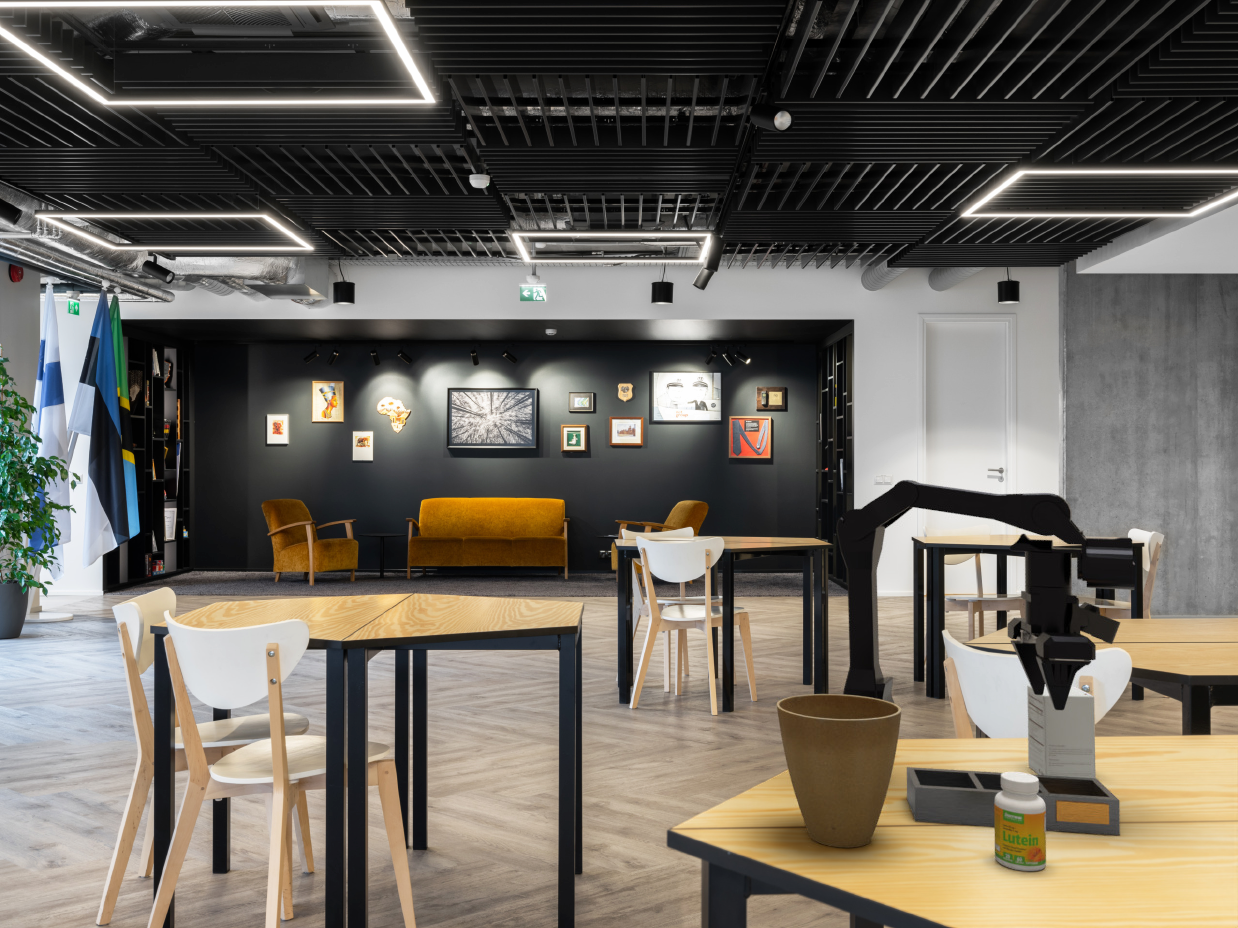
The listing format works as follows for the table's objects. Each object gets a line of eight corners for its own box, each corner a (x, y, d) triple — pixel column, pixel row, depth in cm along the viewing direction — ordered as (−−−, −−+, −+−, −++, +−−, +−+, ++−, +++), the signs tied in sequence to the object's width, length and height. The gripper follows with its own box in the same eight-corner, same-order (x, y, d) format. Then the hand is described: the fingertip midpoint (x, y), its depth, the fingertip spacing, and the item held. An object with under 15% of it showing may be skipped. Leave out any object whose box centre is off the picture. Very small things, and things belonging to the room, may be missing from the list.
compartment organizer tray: (915, 821, 118) (915, 787, 118) (906, 798, 127) (906, 766, 127) (1120, 836, 113) (1120, 800, 113) (1096, 810, 122) (1096, 778, 122)
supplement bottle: (997, 868, 103) (996, 781, 103) (992, 851, 108) (991, 767, 108) (1049, 874, 101) (1048, 785, 102) (1042, 856, 107) (1041, 771, 107)
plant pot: (914, 829, 115) (914, 700, 116) (883, 870, 102) (883, 725, 103) (800, 807, 123) (800, 687, 123) (758, 843, 110) (758, 709, 110)
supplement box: (1076, 767, 142) (1075, 685, 142) (1096, 782, 134) (1095, 695, 135) (1026, 766, 142) (1026, 684, 143) (1044, 781, 135) (1043, 694, 135)
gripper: (1139, 594, 114) (1140, 721, 113) (1088, 580, 132) (1088, 690, 132) (1044, 592, 116) (1044, 717, 115) (1006, 578, 134) (1006, 686, 134)
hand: (1048, 701), depth 124 cm, fingers open, 9 cm apart
